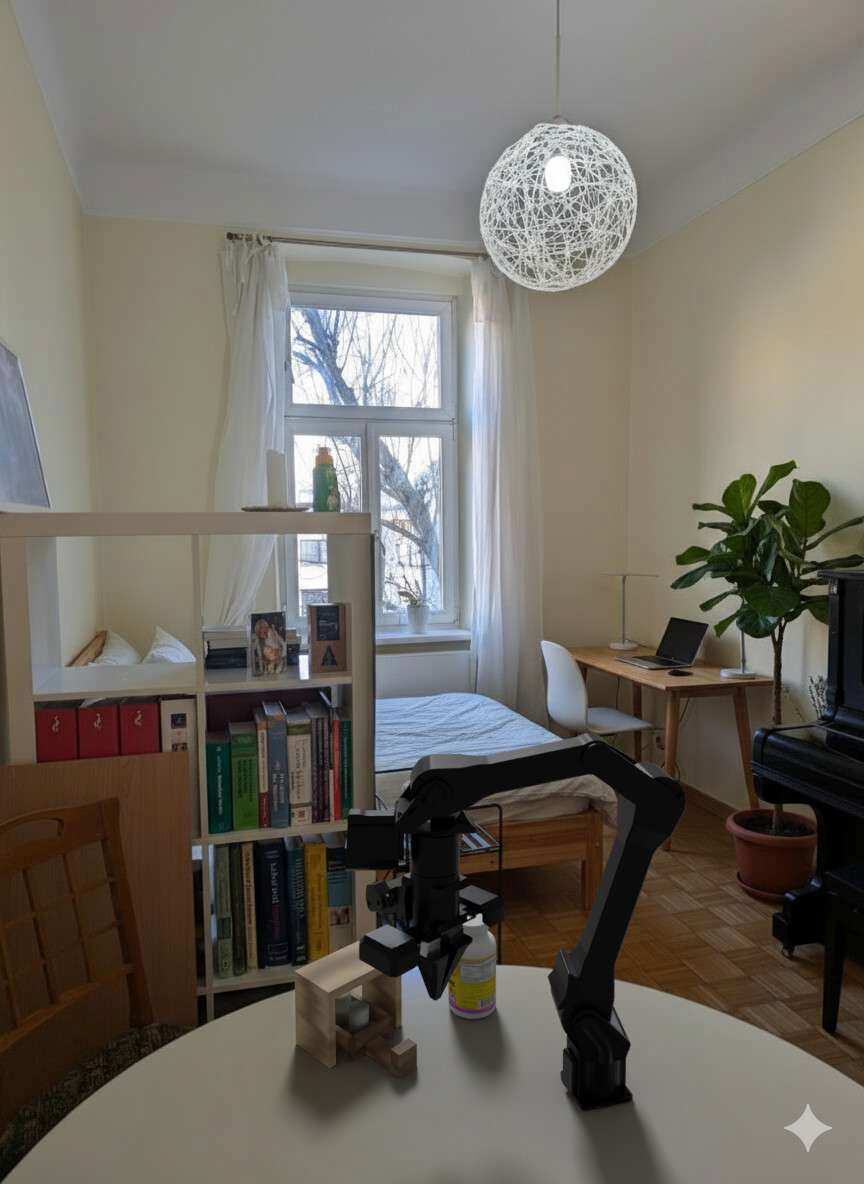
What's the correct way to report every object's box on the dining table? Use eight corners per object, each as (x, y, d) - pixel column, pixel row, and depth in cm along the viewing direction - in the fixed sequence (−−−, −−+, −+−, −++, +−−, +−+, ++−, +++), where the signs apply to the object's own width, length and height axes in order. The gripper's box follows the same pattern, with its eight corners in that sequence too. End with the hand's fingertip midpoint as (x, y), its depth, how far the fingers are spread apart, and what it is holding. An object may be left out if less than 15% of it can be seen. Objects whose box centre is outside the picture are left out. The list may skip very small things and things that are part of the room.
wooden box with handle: (428, 1059, 100) (428, 1024, 100) (387, 1087, 95) (386, 1050, 95) (348, 1008, 111) (348, 976, 110) (308, 1031, 106) (307, 997, 105)
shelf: (401, 1025, 107) (401, 955, 106) (329, 1068, 98) (328, 992, 98) (367, 1003, 112) (366, 936, 111) (296, 1043, 103) (294, 970, 103)
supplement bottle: (451, 991, 115) (451, 905, 114) (497, 995, 114) (497, 907, 113) (445, 1019, 108) (445, 928, 107) (494, 1023, 107) (494, 931, 106)
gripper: (440, 828, 104) (440, 944, 105) (327, 871, 91) (328, 1003, 92) (507, 852, 96) (506, 977, 97) (393, 902, 83) (393, 1046, 84)
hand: (434, 998), depth 93 cm, fingers closed
